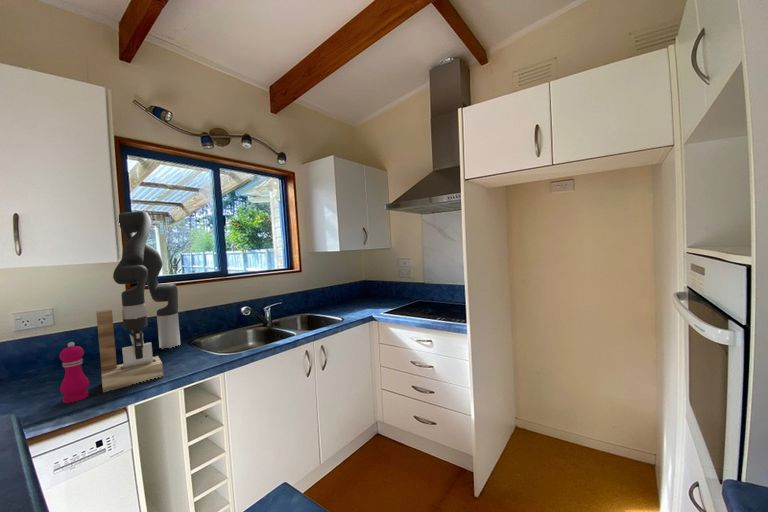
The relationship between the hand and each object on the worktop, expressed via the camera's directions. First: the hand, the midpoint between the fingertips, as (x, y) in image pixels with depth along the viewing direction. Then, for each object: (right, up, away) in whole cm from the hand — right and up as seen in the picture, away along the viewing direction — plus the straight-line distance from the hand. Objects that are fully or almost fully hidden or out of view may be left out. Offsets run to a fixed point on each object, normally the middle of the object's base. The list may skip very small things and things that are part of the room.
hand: (138, 356), depth 125 cm
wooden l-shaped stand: (-1, -9, -1) cm, 9 cm away
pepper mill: (-9, -10, -16) cm, 21 cm away
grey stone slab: (0, -8, 0) cm, 8 cm away
